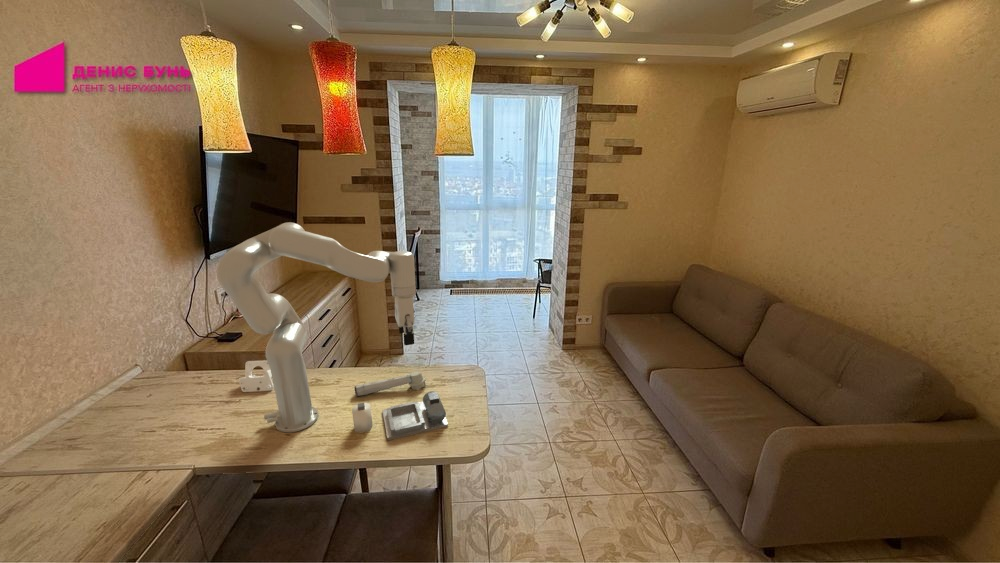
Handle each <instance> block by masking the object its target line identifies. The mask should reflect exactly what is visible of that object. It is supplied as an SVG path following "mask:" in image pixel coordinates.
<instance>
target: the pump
mask: <svg viewBox="0 0 1000 563" xmlns="http://www.w3.org/2000/svg"><path fill="white" fill-rule="evenodd" d="M351 412H352V413H351V414H352V420H353V421H352V422H353V429H354V431H355V432H357V433H361V434H362V433H366V432H369V431H370V430H371V429H372V428H373V426H374V425H373V416H372V406H371V404H370V403H368V402H361V403H357V404H356V405H354V406H353V407H352V408H351Z"/></svg>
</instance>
